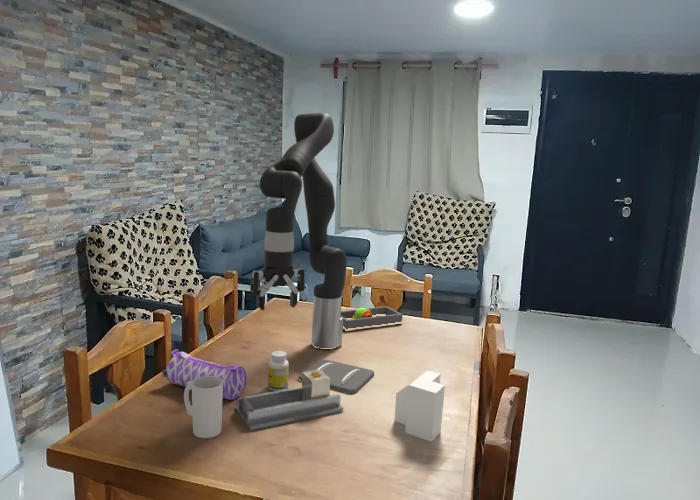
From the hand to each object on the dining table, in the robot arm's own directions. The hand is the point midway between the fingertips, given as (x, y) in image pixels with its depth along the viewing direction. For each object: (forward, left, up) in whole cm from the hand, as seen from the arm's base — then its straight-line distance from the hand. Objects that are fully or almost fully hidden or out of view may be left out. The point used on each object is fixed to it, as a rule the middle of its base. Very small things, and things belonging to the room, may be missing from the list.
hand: (277, 308), depth 144 cm
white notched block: (-25, +33, -23) cm, 47 cm away
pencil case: (+17, -5, -23) cm, 29 cm away
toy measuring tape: (-53, -38, -23) cm, 69 cm away
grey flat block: (-19, +1, -23) cm, 30 cm away
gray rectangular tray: (-52, -38, -22) cm, 68 cm away
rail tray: (+1, +14, -22) cm, 26 cm away
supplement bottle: (-1, +1, -23) cm, 23 cm away
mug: (+23, +15, -23) cm, 36 cm away
